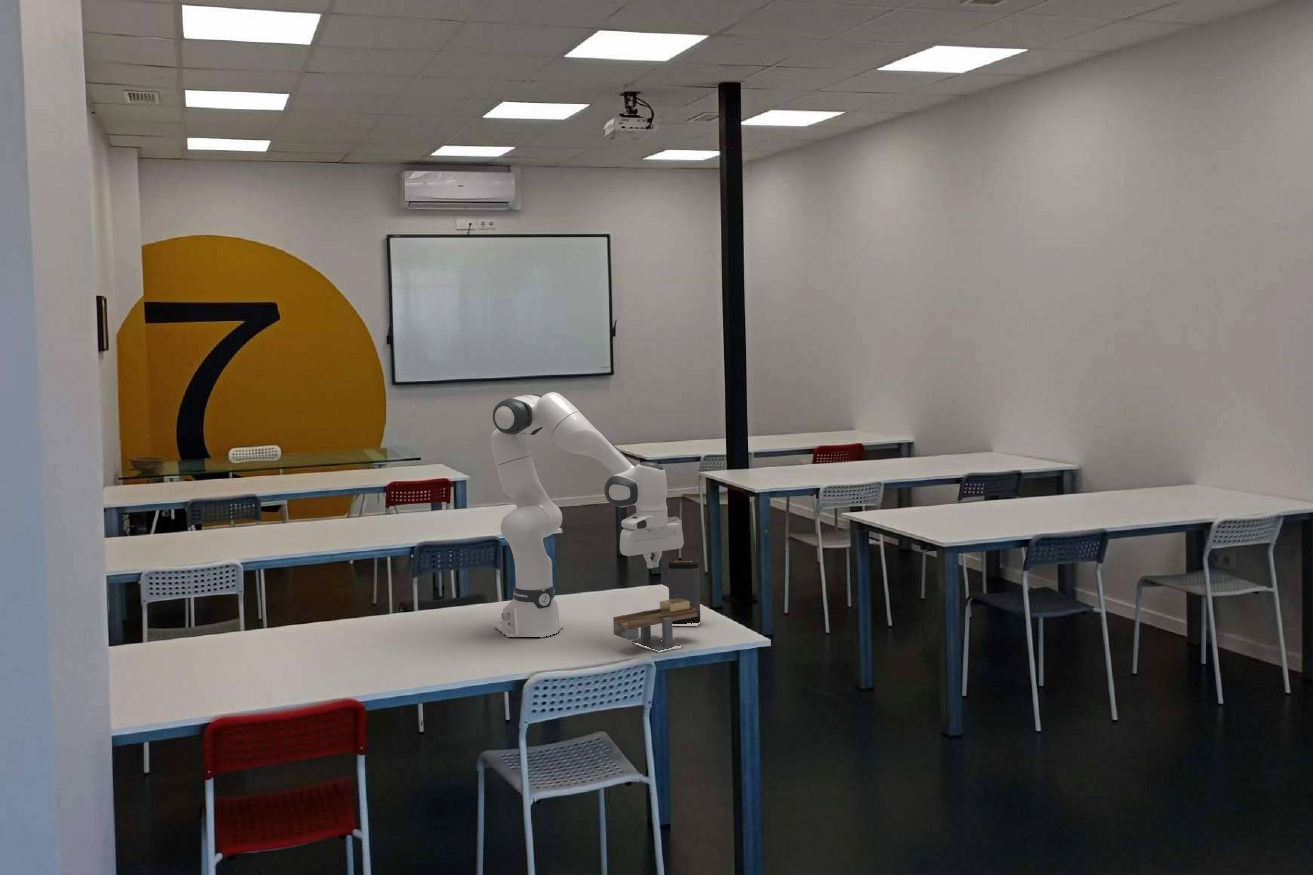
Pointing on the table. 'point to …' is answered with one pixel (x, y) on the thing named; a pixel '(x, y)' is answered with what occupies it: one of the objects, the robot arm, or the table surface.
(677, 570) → the electronic device
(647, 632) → the stand
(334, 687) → the table surface
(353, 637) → the table surface
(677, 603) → the rider
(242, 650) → the table surface
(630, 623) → the beam
